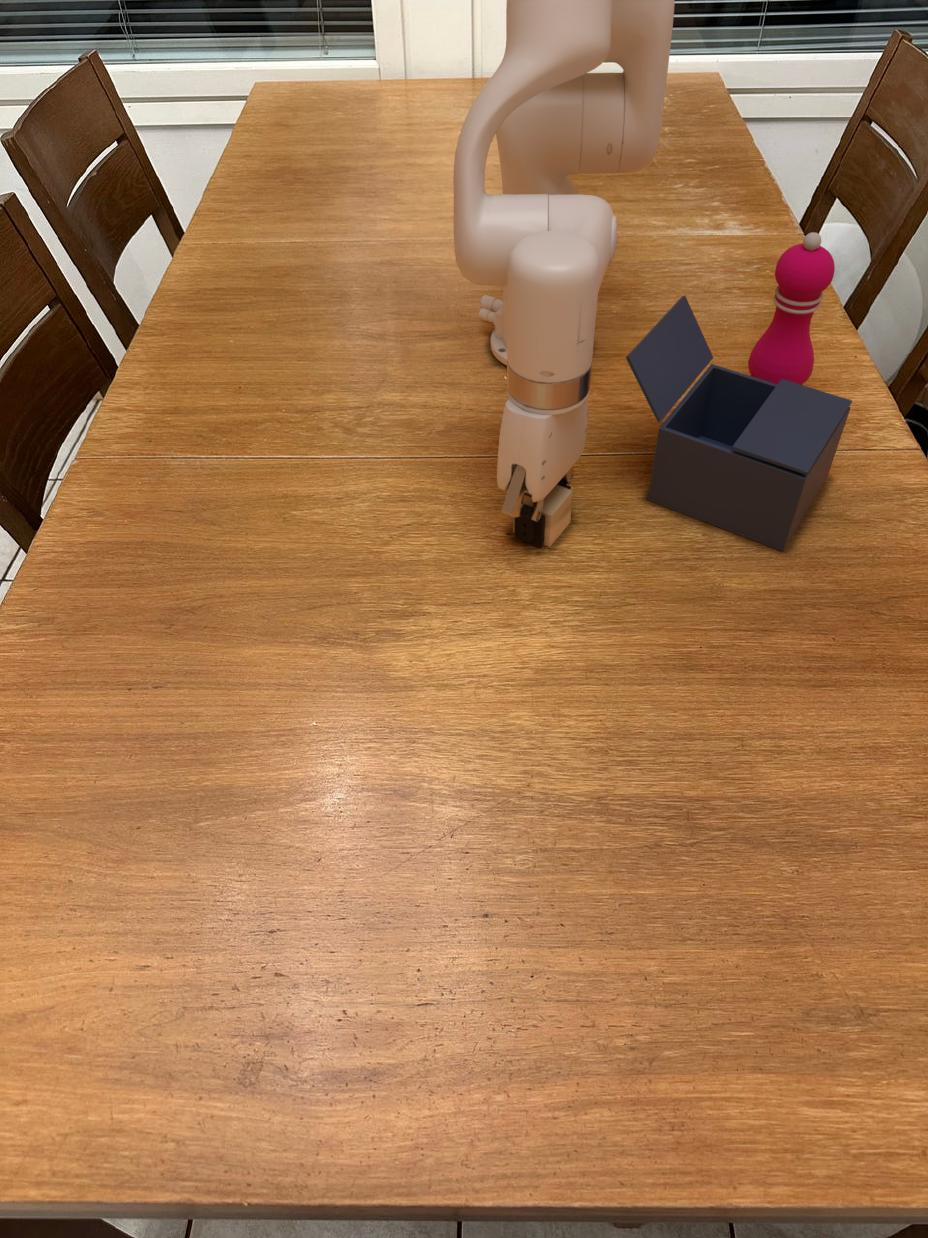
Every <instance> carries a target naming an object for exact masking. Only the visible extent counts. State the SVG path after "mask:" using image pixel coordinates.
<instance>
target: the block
mask: <svg viewBox="0 0 928 1238" xmlns="http://www.w3.org/2000/svg"><path fill="white" fill-rule="evenodd" d="M573 493H574V491H573V490H572V489H571V490H570V489H567V488H565V487H562V486H560V485H556V486H555V487H554V488H553V489H552V490H551V491H550V492H549V493H548V495H547V496H546V497H544V503H543V509H542V515H543V516H545V532H544V544H543V545H542V546H545V547H548V548H551V546H552V545H553V544H554V543H555V542H556V540H557V539H558V538H559V537H560V536H561V535H562V533H563V532H564V531H565V530H566V529H567V527H568V526H569V525H570V524H571V517H572V507H573V495H574V494H573ZM523 503H524V504H526V505H529V506H531V507H533V504H534V502H532V499H531V497H529V496H526V495H524V499H523ZM512 533H514V534H515V518H513V517H512Z"/></svg>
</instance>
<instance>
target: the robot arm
mask: <svg viewBox="0 0 928 1238" xmlns="http://www.w3.org/2000/svg"><path fill="white" fill-rule="evenodd" d="M505 5H506V7H505V9H506V10H505V18H506V19H505V25H506V26H505V30H506V31H505V32H506V34H505V35H506V36H505V37H506V39H505V48H504V54H503V57H502V60H501V62H500V63H499V66H498V67H497V69H496V70H495V72H494V73H493V74H492V76H490V78H489V79H488V80H487V82H486V84H484V86H483V87H482V88H481V90H480V92H479V93H478V95H476V97H475V99H474V101H473V103H472V105H471V106H470V108H469V110H468V111H467V113H466V116H465V118H464V121H463V123H462V126H461V129H460V132H459V135H458V139H457V142H456V143H457V144H456V149H455V152H454V161H453V177H452V179H453V180H452V181H453V183H452V184H453V247H454V257H455V261H456V265H457V268H458V270H459V272H460V274H461V275H462V276H463V278H465V279H466V280H467V281H469V282H470V283H472V284H475V285H479V286H487V287H489V286H490V287H491V286H492V287H502V299H499V298H497V297H494V296H491V295H488V294H484V295H482V296H481V299H480V301H479V311H478V313H477V314H478V315H477V317H478V319H479V320H481V321H485V322H490V323H492V324H493V326H494V329H493V330H492V332H491V335H490V351H491V353H492V354H493V356H494V357H495V358H496V359H497V361H499V362H500V363H501V364H503V365H505V366H506V394H507V397H508V398H507V400H506V401H505V404H504V408H503V413H502V417H501V418H502V419H501V422H500V423H501V424H500V430H499V437H498V438H499V439H498V449H497V461H496V462H497V463H496V484H497V488H498V489H500V490H502V491H504V492H505V491H506V490H507V492H506V495H505V497H504V500H503V505H502V506H501V511H500V512H501V514H502V515H503V514H504V515H505V516H508V517H511V518H512V519H513V518H515V533H514V537H515V538H516V539H519V540H520V541H522V542H525V543H528V544H530V545H532V546H535V547H537V548H541V547H542V546H544V545H543V544H544V532H545V516H543V515H542V509H543V503H544V497H546V496H547V495H548V493H549V492H550V491H551V490H552V489H553V488H554V487H555V486H556V485H560V486H562V487H565V488H567V489H570V490H572V486H570V485H571V484H572V483H573V480H574V476H575V474H574V473H575V472H574V466H575V464H576V463H577V462H578V461H579V459H580V457H581V456H582V454H583V452H584V450H585V447H586V442H587V441H586V440H587V433H588V420H589V419H588V416H589V397H590V391H591V381H592V370H593V369H592V368H593V357H594V356H593V355H594V344H595V333H596V332H595V331H596V322H597V310H598V300H599V299H598V298H599V292H600V289H601V286H602V283H603V280H604V278H605V274H606V273H607V270H608V268H609V267H610V266H611V265H612V264H613V262H614V260H615V255H616V250H617V248H618V238H619V237H618V236H619V233H618V227H619V223H618V218H617V216H616V215H614V212H613V209H612V207H611V205H610V204H609V202H608V201H607V200H605V199H604V198H603V197H600V196H597V195H592V194H581V193H580V191H579V190H578V188H577V186H576V185H575V183H574V182H573V181H572V179H571V178H570V177H569V176H578V175H594V174H595V175H601V174H602V175H607V174H609V175H610V174H611V175H612V174H617V175H618V174H633V173H639V172H641V171H643V170H645V169H646V168H648V167H649V166H650V165H651V163H652V162H653V161H654V159H655V157H656V154H657V151H658V147H659V143H660V139H661V131H662V126H663V125H662V124H663V119H664V117H663V116H664V107H665V100H666V99H665V98H666V89H667V82H668V81H667V80H668V74H669V73H668V71H669V63H670V54H671V46H672V38H673V28H674V27H673V26H674V16H675V0H506V4H505ZM610 63H612V64H613V63H614V64H617V65H618V66H620V67H621V69H622V70H623V71H622V72H591V71H594V70H595V69H597V68H599V67H600V66H601V65H602V64H610ZM494 138H496V144H497V151H498V158H499V165H500V174H501V186H502V187H501V188H502V193H497V194H496V193H495V194H489V193H487V192H486V185H485V183H486V182H485V180H486V179H485V178H486V166H487V158H488V155H489V152H490V151H489V150H490V148H491V145H492V142H493V140H494ZM524 495H526V496H529V497H531V499H532V502H534V504H533V507H531V506H529V505H526V504H524V503H523V499H524Z"/></svg>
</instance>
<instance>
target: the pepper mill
mask: <svg viewBox="0 0 928 1238" xmlns="http://www.w3.org/2000/svg"><path fill="white" fill-rule="evenodd" d="M821 244H822V236H821V235H820V233H818V232H814V231H813V232H812V231H811V232H809V233H808V234H806V235H805V236H804V238H803V240H802V242H801V243H798V244H795V245H792V246H790V247H788V248H787V249H786V250H785V251H784V252H783V253H782V254H781V255H780V257H779V258H778V260H777V262H776V265H775V269H774V278H775V281H776V284H777V286H775V287H776V288H775V290H774V295H773V298H772V299H773V304H774V305H775V311H774V314H773V318H772V320H771V322H770V324H769V326H768V327H767V329H766V330H765V332H763V334H762V335H761V336H760V337H759V338H758V340H757V341H756V343H755V345H754V346H753V347H752V349H751V352H750V355H749V358H748V361H747V367H748V371H749V374H750V376H752V377H756V378H759V379H762V380H765V381H768V382H772V383H775V384H778V383H779V382H780V380H781V379H784V380H787V381H790V382H794V383H797V384H800V385H803V384H805V383H806V382H807V381H808V380H809V379H810V377H811V376H812V374H813V370H814V363H815V352H814V347H813V344H812V343H813V342H812V339H811V333H810V332H811V331H810V330H811V329H810V328H811V322H812V319H813V315H814V313H815V312H816V311H817V310H819V309H820V307H821V304H822V299H823V297H824V291H825V290H827V288H828V287H829V286H830V285H831V283H832V281H833V279H834V276H835V271H836V266H835V261H834V258H833V256H832V253H830V251H829V250H828V249H826V248H825V247H824V246H822V245H821Z"/></svg>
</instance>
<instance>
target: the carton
mask: <svg viewBox="0 0 928 1238" xmlns="http://www.w3.org/2000/svg"><path fill="white" fill-rule="evenodd" d="M852 402H853V400H852V399H849V398H845V397H842V396H839V395H836V394H832V393H829V392H826V391H822V390H820V389H817V388H814V387H813V388H812V387H809V386H807V385H803V384H802V385H800V384H797V383H794V382H790V381H787V380H784V379H781V380H780V382H779V383H778V384H775V383H772V382H768V381H765V380H762V379H759V378H756V377H752V376H751V375H749V374H746V373H742V372H739V371H736V370H733V369H730V368H727V367H724V366H720V365H717V364H714V363H711V364H710V365H709V366H708V367H707V368H706V370H705V371H704V372H703V374H702V375H701V376H700V377H699V379H698V380H697V381H696V382H695V383H694V384H693V386H692V387H691V388H690V390H689V391H688V392H687V393H686V394H685V396H684V397H683V398H682V399H681V400H680V401H679V402H678V404H677V405H676V406H675V408H674V409H673V410H672V411H671V413H670V414H669V415H668V416H667V418H666V419H665V420H664V421H662V423H661V425H660V426H659V427H658V430H657V438H656V443H655V449H654V456H653V463H652V470H651V476H650V482H649V489H648V494H647V495H648V496H647V501H649V502H652V503H654V504H657V505H659V506H662V507H665V508H667V509H669V510H672V511H676V512H678V513H681V514H683V515H686V516H688V517H690V518H693V519H696V520H699V521H702V522H705V523H706V524H710V525H712V526H714V527H717V528H720V529H722V530H725V531H726V532H727V531H728V532H730V533H733V534H735V535H738V536H740V537H743V538H745V539H748V540H750V541H753V542H756V543H759V544H761V545H764V546H767V547H769V548H771V549H775V550H778V551H780V552H784V551H785V549H786V547H787V546H788V544H789V543H790V541H791V539H792V537H793V536H794V534H795V532H796V531H797V529H798V527H799V526H800V524H801V523H802V521H803V519H804V517H805V516H806V515H807V513H808V511H809V510H810V508H811V506H812V504H813V503H814V501H815V500H816V498H817V496H818V495H819V493H820V491H821V489H822V488H823V486H824V484H825V483H826V481H827V479H828V476H829V474H830V471H831V467H832V465H833V461H834V459H835V455H836V453H837V449H838V447H839V444H840V441H841V438H842V435H843V432H844V429H845V426H846V423H847V420H848V417H849V414H850V411H851V405H852Z"/></svg>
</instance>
